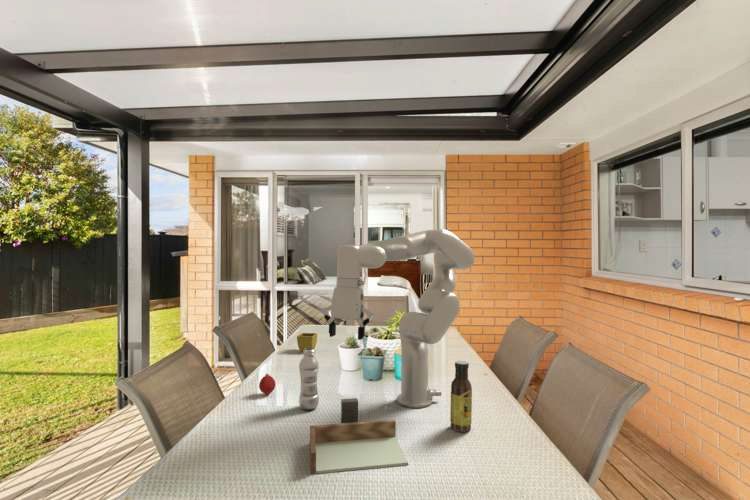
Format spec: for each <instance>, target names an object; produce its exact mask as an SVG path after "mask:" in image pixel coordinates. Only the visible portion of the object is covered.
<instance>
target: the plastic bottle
mask: <svg viewBox="0 0 750 500" xmlns="http://www.w3.org/2000/svg"><path fill="white" fill-rule="evenodd" d="M315 353H316V352H315V348H305V349H304V351H303V352H302V356H303V357H302V358H301V360H300V361H299V364H298V368H299V369H298V370H299V375H300V393H299V399H298V403H299V407H300V408H301V409H302V410H307V411H310V410H314V409H317V408H318V406H319V401H320V398H319V397H320V396H319V394H318V373H319V362H318V360H317V358H316V357H315V355H316V354H315Z"/></svg>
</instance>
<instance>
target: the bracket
mask: <svg viewBox="0 0 750 500" xmlns="http://www.w3.org/2000/svg"><path fill="white" fill-rule="evenodd" d="M355 422H359V399H358V397H355V398H341V399H340V424H341V423H355Z"/></svg>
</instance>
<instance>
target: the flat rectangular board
mask: <svg viewBox="0 0 750 500" xmlns="http://www.w3.org/2000/svg"><path fill="white" fill-rule="evenodd" d="M404 453H405V452H404V451H403V449H402V447H401V444H400V443H399V441H398V439H397V437H387V438H375V439H363V440H350V441H338V442H326V443H316V473H315V472H314V473H313V474H312V473H311V472H310V475H315V474H325V473H327V474H328V473H336V472H344V471H345V472H346V471H347V472H348V471H356V470H367V469H376V468H390V467H398V466H399V467H400V466H408V465H409V462H408V460H407V458H406V455H405V454H404Z"/></svg>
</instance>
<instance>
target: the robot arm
mask: <svg viewBox="0 0 750 500" xmlns="http://www.w3.org/2000/svg"><path fill="white" fill-rule="evenodd" d="M337 247H338V248H337V256H336V257H337V260H336V261H337V262H336V265H337V266H336V286H335V287H334V289H333V292H332V293H333V294H332V298H331V304H330V305H329V306H326V307H324V308H323V309H321V312H322V315H323V318H324V319H325V321H326V322H327V324H328V334H329V337H330V338H332V337H335V336H336V333H337V330H336V329H337V324H336V321H337V320H344V321H346V320H347V321H356V323H357V324H358V325H359V326H358V327H357V328H358V329H357V340H359V341H360V340H363V339H364V337H365V335H366V326H367V325H368V324H369V323H370V322H371V321H372V318H373V317H374V314H375V313H374V312H373V311H371V310H370V309H368V308H366V306H365V297H364V290H363V288H361V287H362V286H364V285H365V280H362V278H361V269H362V268H363V269H378V268H381V267H382V266H384V264H385V263H386V262H397V261H398V262H399V261H402V262H403V261H407V260H411V259H415V258H418V257H421V256H425V255H428V254H434V255H433V261H434V266H435V275H434V276H433V277H434V278H433V279H432V280H431V283H430V284H428V286H427V288H426V289H425V290H424V292H423V293H422V294H421V296H420V298H419V300H418V302H417V306H418V308H419V309H418V310H420V311H421V312H417V311H408V312H406V313H403V315H401V317H400V319H399V322H398V332H399V338H400V347H401V348H400V351H401V352H400V353H401V356H400V357H401V358H400V363H401V364H400V365H401V366H400V371H401V373H400V374H401V376H400V377H401V378H400V385H401V386H400V393H399V394H398V395H397V396H396V402H397V403H398V405H401V406H403V407H407V408H412V409H415V408H416V409H417V408H419V409H420V408H425V407H426V408H427V407H429V406H431V405H432V404H433V398H434V397H441V396H442V390H441V389H437V390H436V388H429V348H428V345H435V344H437V343H438V342H439V341H441V340H442V339H443V337H444V336H445V335H446V333H447V331H449V328H450V327H451V325H452V324H453V322H454V321H455V320H456V319H457V316H458V314H459V312H460V307H461V306H460V299H459V297H458V296H457V295H456V294H455V293H453V292H454V290H456V289H455V288H456V286H457V280H456V279H457V277H456V274H455V270H468V269H470V268H471V267H473V265H474V263H475V253H474V251H473V250H472V248H471V247H470V246H469V245H468V244H466V243H465V242H464V241H463V240H462V239H460V238H459V237H458V236H457V235H455V234H454V233H453V232H451V231H449V230H447V229H444V228H440V229H439V228H438V229H426V230H423V231H417V232H414V233H409V234H404V235H400V236H396V237H391V238H387V239H382V240H377V241H372V242H368V243H364V244H360V245H358V244H357V245H356V244H341V245H339V246H337ZM329 311H330V314H329ZM365 315H367V316H366V319H364V318H365Z"/></svg>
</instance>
